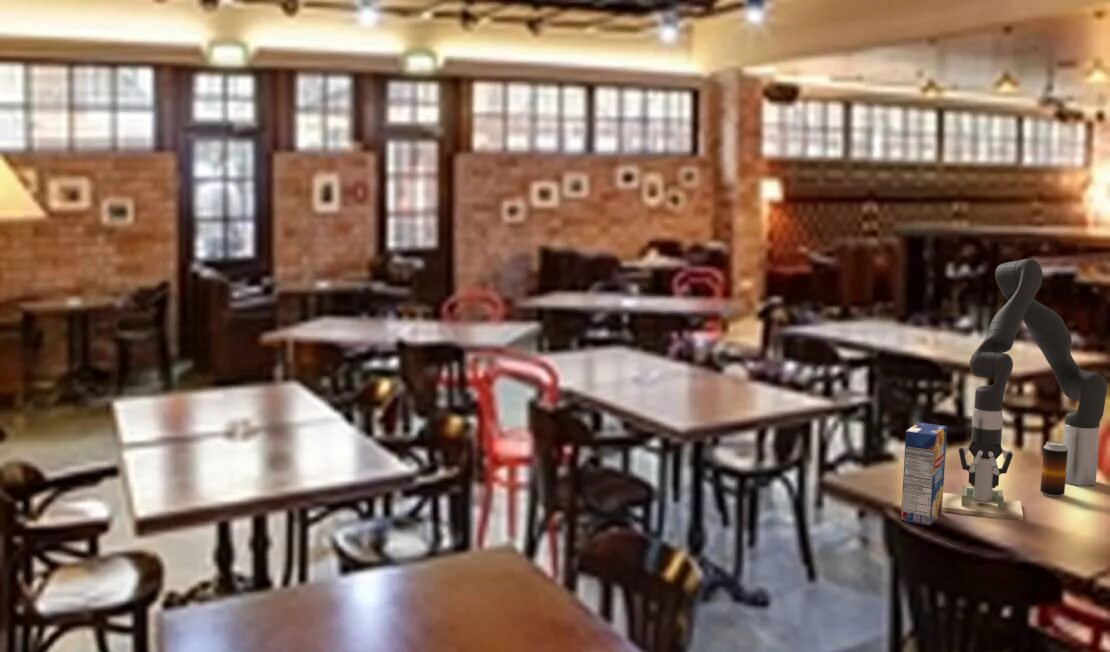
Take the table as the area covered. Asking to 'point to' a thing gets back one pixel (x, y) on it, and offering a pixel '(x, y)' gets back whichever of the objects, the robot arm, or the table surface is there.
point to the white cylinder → (983, 480)
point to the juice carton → (923, 473)
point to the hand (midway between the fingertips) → (983, 486)
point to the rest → (982, 505)
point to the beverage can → (1054, 469)
